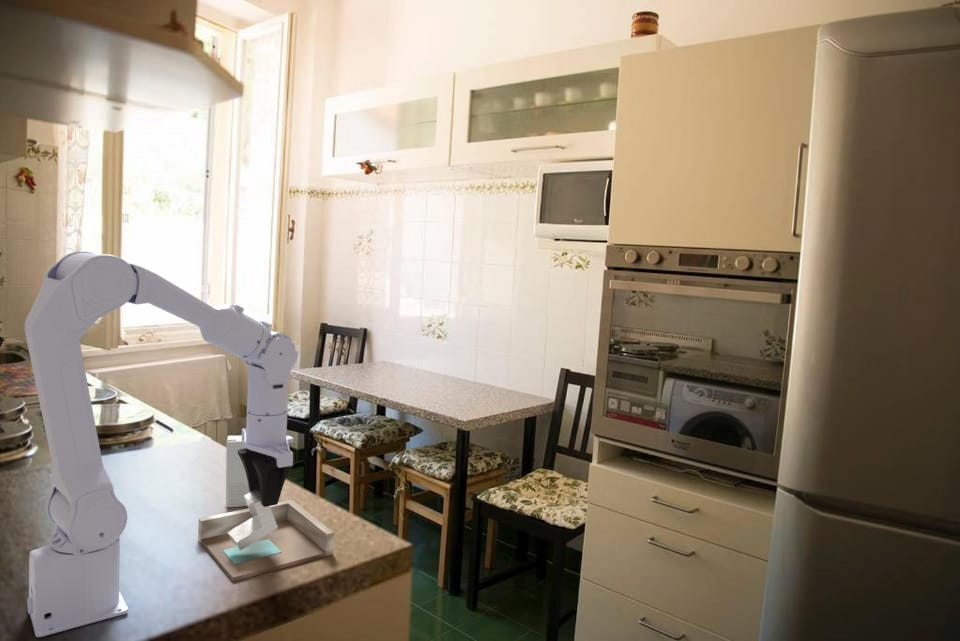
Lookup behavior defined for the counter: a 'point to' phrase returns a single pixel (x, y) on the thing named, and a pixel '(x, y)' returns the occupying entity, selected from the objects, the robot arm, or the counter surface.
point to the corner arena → (266, 541)
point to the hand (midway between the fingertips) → (263, 499)
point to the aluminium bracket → (253, 522)
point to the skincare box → (235, 474)
